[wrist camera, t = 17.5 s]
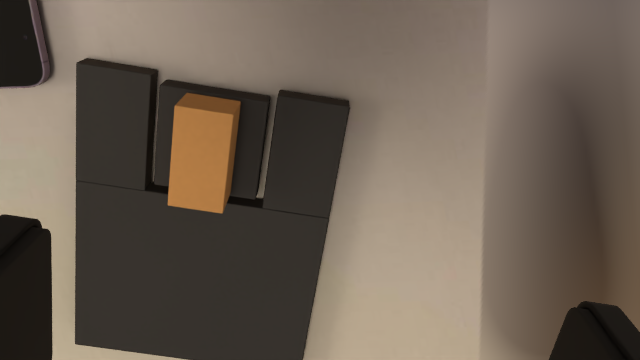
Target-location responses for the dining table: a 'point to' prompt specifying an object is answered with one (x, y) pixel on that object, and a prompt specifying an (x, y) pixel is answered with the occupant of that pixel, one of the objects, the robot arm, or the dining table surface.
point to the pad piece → (209, 144)
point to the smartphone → (22, 45)
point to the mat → (196, 231)
